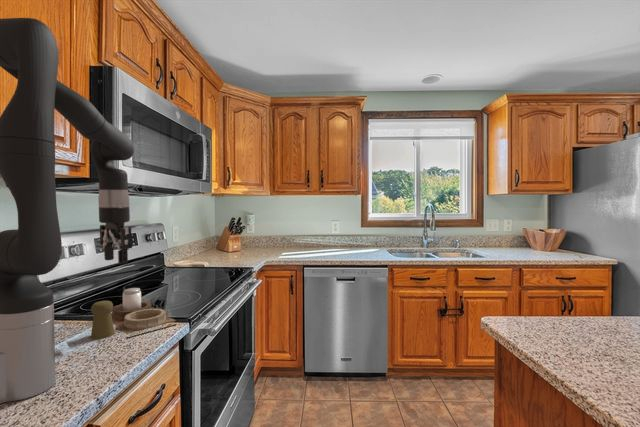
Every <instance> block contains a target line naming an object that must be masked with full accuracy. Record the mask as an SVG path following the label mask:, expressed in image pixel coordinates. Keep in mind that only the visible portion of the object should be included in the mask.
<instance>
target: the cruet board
mask: <svg viewBox="0 0 640 427" xmlns="http://www.w3.org/2000/svg"><path fill="white" fill-rule="evenodd" d="M166 314H167V313H166V310H164V309H162V308H153V307H152V303H151V302H149V301H141V309H137V310H131V311H123V303H122V304H119V305H116V306H113V310H112V311H111V316H112V321H113V325H115V326H116V327H118V328H119V329H120V330H122V331H123V332H124V333H126V334H127V335H129V334H132V333H135V332H139V331H144V330H147V329H150V328H155V327H158V326H163V325H165V324H167V326H164V327H160V328H157V329H153V330H149V331H146V332H141V333H139V334H134V335H131V336H127V337H125V338H126V339H127V340H128V339H131V338H135V337H139V336H143V335H146V334H151V333H154V332H158V331H162V330H165V329H168V328H169V329H170V328H172V327H176V326H177V323H175V324H172V325H168V324H170V323H173V322H176V321H177V320H176V319H174V318H172V317H170V316H168V315H166Z"/></svg>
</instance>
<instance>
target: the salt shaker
mask: <svg viewBox="0 0 640 427" xmlns="http://www.w3.org/2000/svg"><path fill="white" fill-rule="evenodd" d="M141 302H142V291H141V288H140V287H131V288H126V289H124V290H123V292H122V304H123V311H131V310H137V309H141Z"/></svg>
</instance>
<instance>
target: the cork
mask: <svg viewBox="0 0 640 427" xmlns="http://www.w3.org/2000/svg"><path fill="white" fill-rule="evenodd" d="M113 308H114V304H113V302H112V301H110V300H101V301H96V302H94V303H93V304H91V308H90V310H91V314H92V315H93V318H92V326H91V333H90V338H91V339H92V340H102V339H107V338H109V337H112V336H114V335H115V327H114V323H113V321H112V316H111V313H112V310H113ZM108 343H110V341H109V342H105V343H103V345H106V344H108ZM100 345H102V344H101V343H100Z"/></svg>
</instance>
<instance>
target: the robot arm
mask: <svg viewBox="0 0 640 427" xmlns="http://www.w3.org/2000/svg"><path fill="white" fill-rule="evenodd" d="M59 56H60V54H59V46H58V43H57V39H56V37H55V35H54V32H53V31H52V30H51V29H50V28H49V26H48V25H47V24H45V23H44V22H43V21H42V20H39V19H37V18H32V17H9V18H6V17H5V18H0V68H1V69H3V70H4V71H5V72H6V73H8V74H10V75H11V76H12V77H14V78H15V79H16V80H17V84H16V87H15V89H14V93H13V95H12V97H11V98H10V100H9V102H8V103H7V104H6V106H5V108H4V110H3V111H2V113H1V115H0V176H1V178H2V181H3V182H4V183H5V186H6V187H7V189H9V191H10V193H11V196H12V197H13V199H14V202H15V205H16V210H17V229H6V230H1V231H0V404H3V403H7V402H14V401H15V402H16V401H21V400H25V399H29V398H32V397H34V396H36V395H40V394H42V393H44V392H45V391H48V390H49V389H51V388H52V387H53V386H54V385H55V384H56V380H57V379H56V373H57V372H56V345H55V344H56V341H55V338H56V337H55V307H54V304H55V303H54V302H55V301H54V292H53V290H52V289H51V288H49V287H48V286H46V285H45V284H43V282H41V281H40V279H39V277H38V276H42V275H46V274H48V273H50V272H52V271H53V270H54V269H55V268H56V267H57V266H58V264H59V262H60V260H61V257H62V252H63V250H62V249H63V247H62V246H63V245H62V244H63V243H62V235H61V229H60V228H61V227H60V221H59V216H58V208H57V189H56V188H57V187H56V137H55V110H56V111H57V112H58V114H60V115H61V116H62V117H63V118H64V119H65V120H67V122H68V123H69V124H70V125H71V126H72V127H73V128H74V129H75V130H76V131H77V132H78V134H80V135H81V136H82V137H83V138H85V139H87V140H89V141H91V143H90V147H89V149H90V154H91V157H92V160H93V163H94V166H95V168H96V172H97V174H98V202H97V203H98V220H99V221H98V222H99V223H101V224H100V225H99V245H101V246H102V248H103V250H104V251H103V252H104V254H103V255H104V260H105V261H111V260H114V259H115V255H114V252H115V251H114V246H116V247H117V251H118V252H117V258H118V262H117V263H118V264H120V265H123V264H128V262H129V256H128V254H129V253H128V250H130V249H132V248H133V238H132V237H133V236H132V227H131V226H126V225H125V223H128V222H130V221H131V220H130V219H131V217H130V216H131V214H130V212H131V210H130V195H129V190H128V189H129V181H128V173H127V171H125V170H124V169H121V168H116V167H115V165H114V163H113V161H127V160H130V159H131V158H132V157H133V156H134V153H135V151H134V150H135V149H134V145H133V142H132V141H131V139H130V138H129V136H127V135H126V134H125V133H124V132H123V131H121V130H120V129H118V128H117V127H116V126H114V125H113V124H112V123H110V122H109V121H107V119H105V117H104V116H103V115H102V114H101V112H100V111H99V110H98V109H97V108H96V106H94V104H93V103H92V102H91V101H89V100H88V99H87V98H86V97H85V96H83V95H82V94H80V93H78V92H76V91H75V90H74V89H72V88H71V87H69V86H67V85H66V84H64V83H63V82H61V81H59V80H58V70H59V59H60V57H59Z"/></svg>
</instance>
